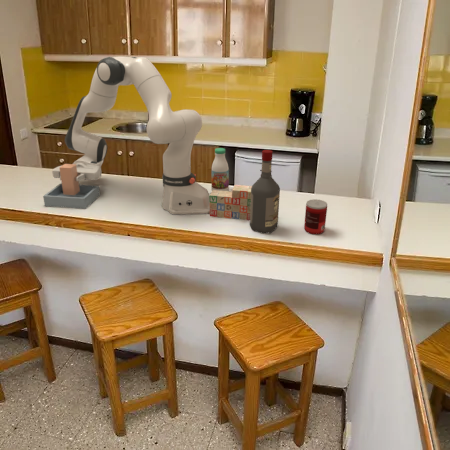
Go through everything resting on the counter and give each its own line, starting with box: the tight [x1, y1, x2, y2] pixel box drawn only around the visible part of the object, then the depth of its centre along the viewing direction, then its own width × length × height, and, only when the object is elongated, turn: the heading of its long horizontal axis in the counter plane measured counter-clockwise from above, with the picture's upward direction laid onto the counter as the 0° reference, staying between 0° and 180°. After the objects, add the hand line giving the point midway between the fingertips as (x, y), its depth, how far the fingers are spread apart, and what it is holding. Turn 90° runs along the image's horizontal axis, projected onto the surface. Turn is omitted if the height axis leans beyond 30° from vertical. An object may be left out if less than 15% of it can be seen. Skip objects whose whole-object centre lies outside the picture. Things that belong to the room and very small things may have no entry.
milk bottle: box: [211, 147, 230, 192], centre depth 201 cm, size 8×8×20 cm
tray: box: [42, 183, 101, 210], centre depth 195 cm, size 18×15×4 cm
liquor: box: [249, 149, 281, 234], centre depth 166 cm, size 9×9×30 cm
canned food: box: [303, 198, 328, 235], centre depth 169 cm, size 8×8×11 cm
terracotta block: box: [59, 163, 80, 195], centre depth 191 cm, size 5×5×12 cm
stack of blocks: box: [209, 184, 252, 221], centre depth 180 cm, size 21×6×12 cm, turn 78°
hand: (68, 179), depth 190 cm, fingers closed on terracotta block, 5 cm apart
